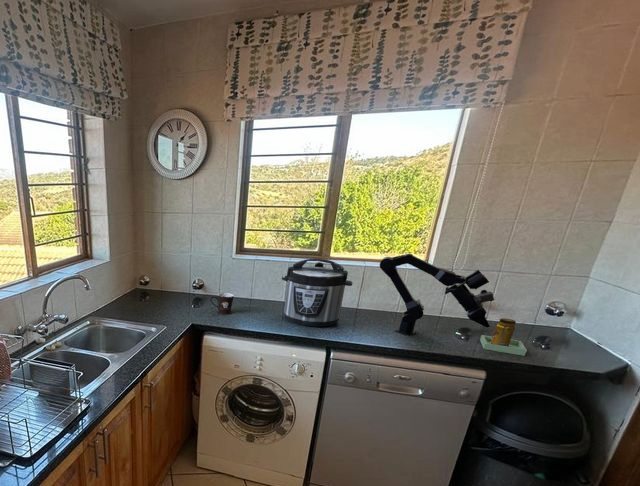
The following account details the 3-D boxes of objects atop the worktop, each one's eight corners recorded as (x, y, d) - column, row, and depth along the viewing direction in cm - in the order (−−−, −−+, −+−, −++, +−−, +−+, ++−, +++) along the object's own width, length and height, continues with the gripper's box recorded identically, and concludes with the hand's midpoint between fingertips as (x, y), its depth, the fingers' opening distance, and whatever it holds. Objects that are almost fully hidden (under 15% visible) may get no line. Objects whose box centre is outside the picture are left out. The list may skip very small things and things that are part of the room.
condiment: (485, 342, 179) (494, 316, 175) (508, 344, 177) (517, 318, 173) (494, 348, 172) (503, 321, 168) (517, 350, 171) (527, 323, 166)
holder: (483, 349, 173) (485, 343, 172) (480, 340, 183) (481, 335, 182) (524, 355, 167) (527, 350, 166) (518, 346, 177) (520, 340, 176)
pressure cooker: (267, 316, 214) (275, 256, 203) (304, 309, 227) (313, 252, 216) (314, 333, 190) (325, 266, 178) (352, 324, 203) (365, 261, 192)
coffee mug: (234, 311, 221) (236, 294, 218) (228, 315, 215) (230, 297, 211) (215, 308, 227) (216, 291, 224) (208, 312, 220) (210, 294, 217)
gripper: (487, 289, 164) (512, 319, 163) (481, 280, 179) (504, 308, 178) (457, 304, 171) (481, 334, 170) (454, 295, 186) (476, 322, 184)
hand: (487, 324), depth 175 cm, fingers open, 9 cm apart
